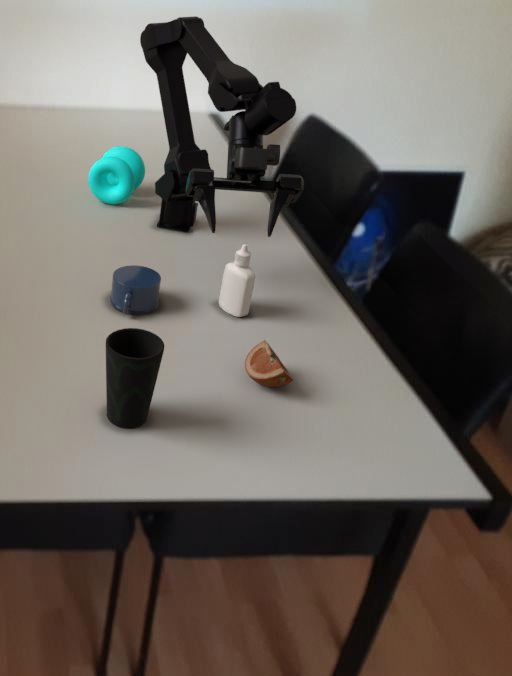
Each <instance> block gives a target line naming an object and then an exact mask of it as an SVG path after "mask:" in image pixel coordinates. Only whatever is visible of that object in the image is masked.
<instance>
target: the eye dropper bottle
mask: <svg viewBox="0 0 512 676" xmlns="http://www.w3.org/2000/svg"><path fill="white" fill-rule="evenodd" d="M251 256H252V253H251V251H249V250H248V244H246V243H243V244H242V245H241V248H240V249H238V250H236V251H235V255H234V261H230V262H228V263H227V264H225V266H224V269H223V275H222V281H221V286H220V291H219V292H220V293H219V298H218V306H219V307H220V309H222V310H223V311H224V312H225V313H227V314H228V315H231V316H233V317H236V318H241V317H245V316H248V315H249V312H250V308H251V303H252V297H253V292H254V286H255V280H256V274H255V272H254V270H253V269H252V267H251V266H250V262H251Z"/></svg>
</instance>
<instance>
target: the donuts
mask: <svg viewBox="0 0 512 676" xmlns="http://www.w3.org/2000/svg"><path fill="white" fill-rule="evenodd" d="M145 175H146V166H145V162H144V160H143V157H141V155H140V154H139V153H138V152H137V151H136V150H135V149H133V148H131V147H128V146H124V145H121V146H120V145H119V146H114V147H112V148H109V149H108V150H107V151H106V152H105V153H104V154H103V156H102V157H101V158H99V159H97V161H95V162H94V163H93V164H92V166H91V168H90V170H89V173H88V186H89V188H90V191H91V192H92V194H93V195H94V197H96V199H98V200H99V201H100V202H102V203H104V204H108V205H119V204H123V203H124V202H126V201H127V200H128V199H129V198H131V196H132V195H133V193H134V191H135V190H137V189H138V188H139V187H141V184H142V183H143V181H144V180H145Z"/></svg>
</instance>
